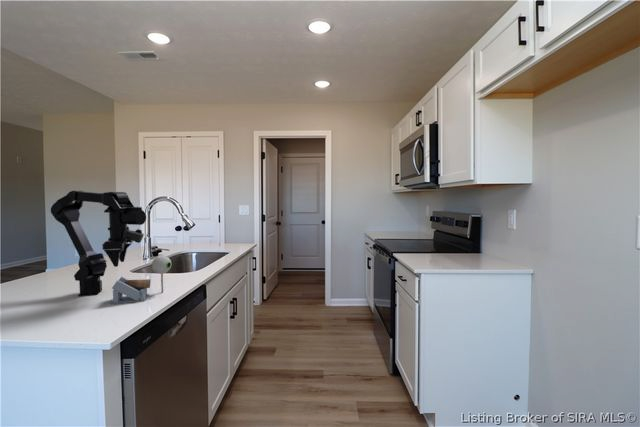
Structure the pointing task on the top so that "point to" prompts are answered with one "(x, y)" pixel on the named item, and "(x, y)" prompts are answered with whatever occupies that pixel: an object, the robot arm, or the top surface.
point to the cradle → (127, 293)
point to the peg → (138, 283)
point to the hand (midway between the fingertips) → (119, 264)
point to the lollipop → (161, 266)
